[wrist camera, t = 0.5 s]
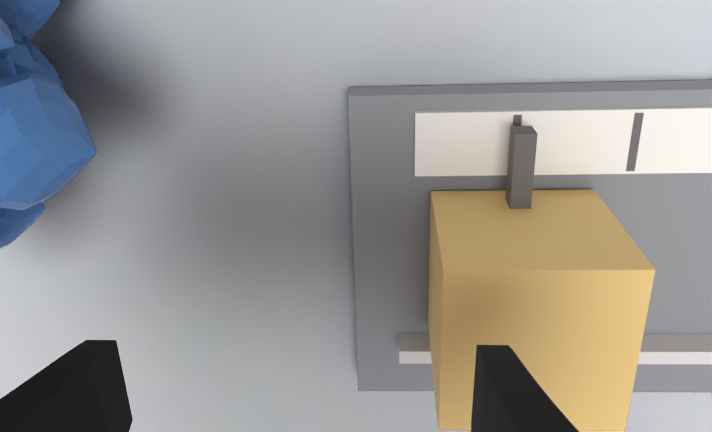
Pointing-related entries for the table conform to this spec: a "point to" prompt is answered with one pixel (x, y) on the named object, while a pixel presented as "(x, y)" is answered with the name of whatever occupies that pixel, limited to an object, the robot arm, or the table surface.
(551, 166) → the gauge track
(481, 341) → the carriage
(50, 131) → the grapes
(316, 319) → the table surface
